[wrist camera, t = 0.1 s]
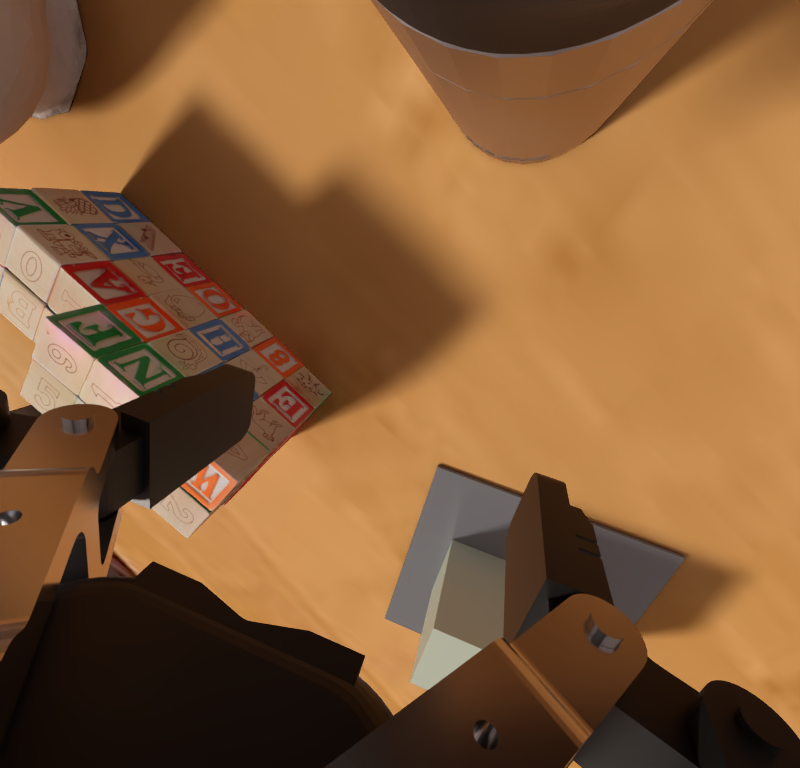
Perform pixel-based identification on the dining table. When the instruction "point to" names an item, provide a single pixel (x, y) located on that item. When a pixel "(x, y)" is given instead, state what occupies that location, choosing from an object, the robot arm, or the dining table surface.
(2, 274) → the stack of blocks
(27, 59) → the ceramic pitcher
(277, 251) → the dining table surface
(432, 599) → the sage block
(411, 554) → the gray tile
